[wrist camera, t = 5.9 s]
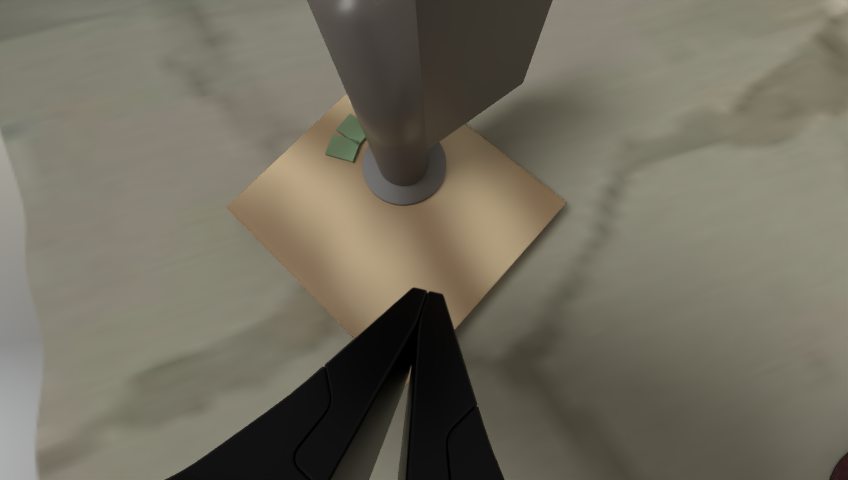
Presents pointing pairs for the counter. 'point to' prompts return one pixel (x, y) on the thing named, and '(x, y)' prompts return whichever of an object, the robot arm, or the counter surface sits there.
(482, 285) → the wooden board
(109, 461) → the counter surface
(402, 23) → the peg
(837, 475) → the vegetable
